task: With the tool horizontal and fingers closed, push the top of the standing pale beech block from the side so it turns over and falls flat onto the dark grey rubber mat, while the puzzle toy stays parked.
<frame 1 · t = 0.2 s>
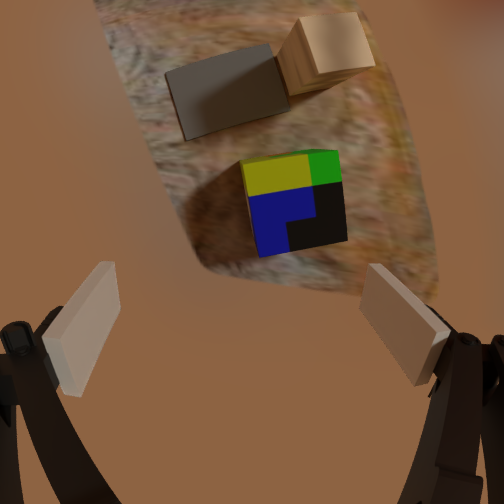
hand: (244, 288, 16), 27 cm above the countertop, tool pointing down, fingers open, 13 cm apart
puzzle toy: (282, 190, 42), on the countertop
rubber mat: (227, 89, 37), on the countertop
beech block: (304, 71, 37), on the countertop
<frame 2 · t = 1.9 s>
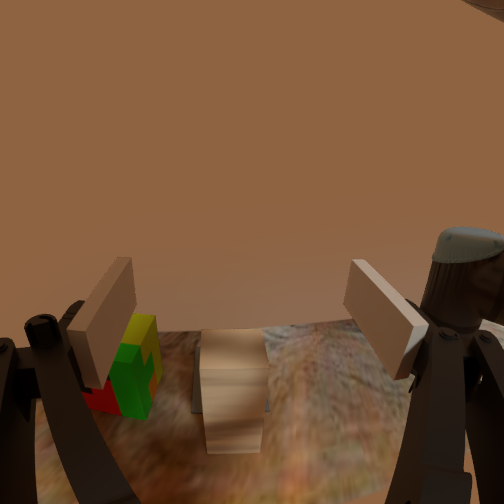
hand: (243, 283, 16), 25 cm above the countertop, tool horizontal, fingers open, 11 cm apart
puzzle toy: (122, 389, 39), on the countertop
rubber mat: (228, 377, 43), on the countertop
beech block: (232, 434, 33), on the countertop
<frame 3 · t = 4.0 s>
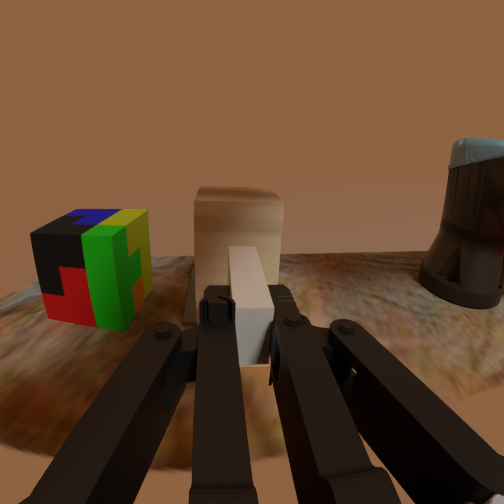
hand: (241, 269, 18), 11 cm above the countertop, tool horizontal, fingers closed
puzzle toy: (102, 304, 34), on the countertop
rubber mat: (229, 292, 38), on the countertop
beech block: (232, 345, 28), on the countertop
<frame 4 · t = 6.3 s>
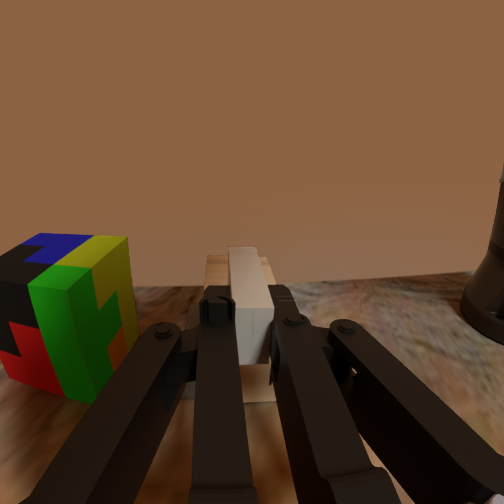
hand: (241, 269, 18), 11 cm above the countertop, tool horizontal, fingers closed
puzzle toy: (75, 359, 24), on the countertop
rubber mat: (238, 344, 28), on the countertop
beech block: (245, 373, 20), point 3 cm above the countertop, tilted 90°, touching rubber mat
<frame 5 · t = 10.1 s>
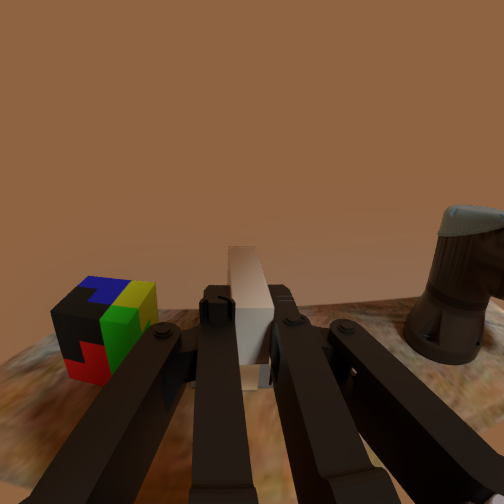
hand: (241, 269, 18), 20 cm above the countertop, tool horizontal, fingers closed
puzzle toy: (117, 363, 37), on the countertop
rubber mat: (229, 353, 42), on the countertop
beech block: (232, 371, 34), point 3 cm above the countertop, tilted 90°, touching rubber mat
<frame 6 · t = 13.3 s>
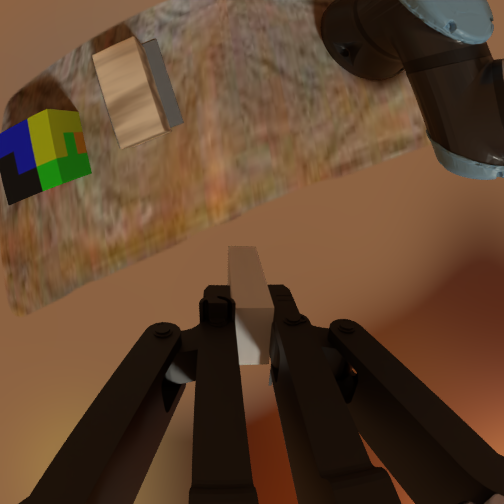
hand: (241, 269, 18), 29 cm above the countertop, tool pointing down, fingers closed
puzzle toy: (59, 152, 40), on the countertop
rubber mat: (136, 92, 39), on the countertop
beech block: (147, 139, 38), point 3 cm above the countertop, tilted 90°, touching rubber mat
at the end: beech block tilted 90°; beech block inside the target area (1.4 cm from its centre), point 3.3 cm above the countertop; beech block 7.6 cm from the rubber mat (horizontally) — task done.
